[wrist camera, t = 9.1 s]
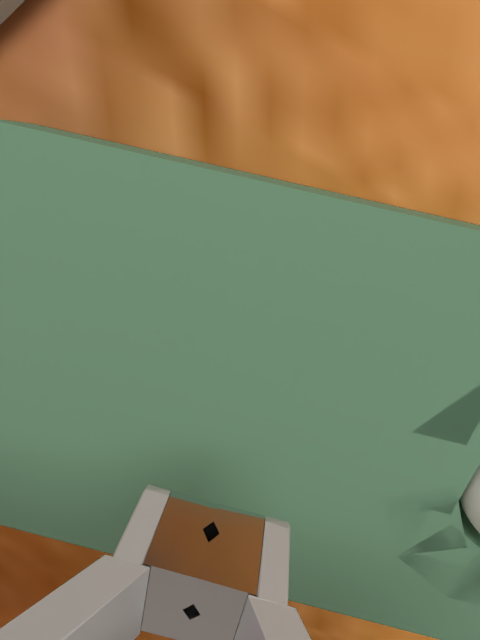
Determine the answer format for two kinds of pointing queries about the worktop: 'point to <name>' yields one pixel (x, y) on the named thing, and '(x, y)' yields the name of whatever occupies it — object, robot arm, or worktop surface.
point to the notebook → (8, 8)
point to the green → (242, 367)
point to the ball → (472, 500)
